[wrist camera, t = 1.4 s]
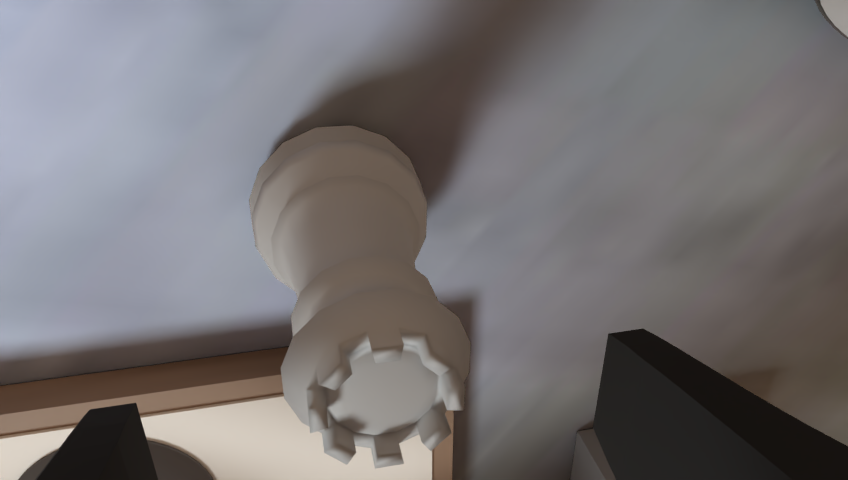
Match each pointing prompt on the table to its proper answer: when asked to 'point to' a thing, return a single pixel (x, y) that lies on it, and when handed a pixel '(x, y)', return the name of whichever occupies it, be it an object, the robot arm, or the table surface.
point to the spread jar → (835, 14)
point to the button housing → (589, 458)
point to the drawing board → (198, 424)
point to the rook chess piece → (358, 294)
